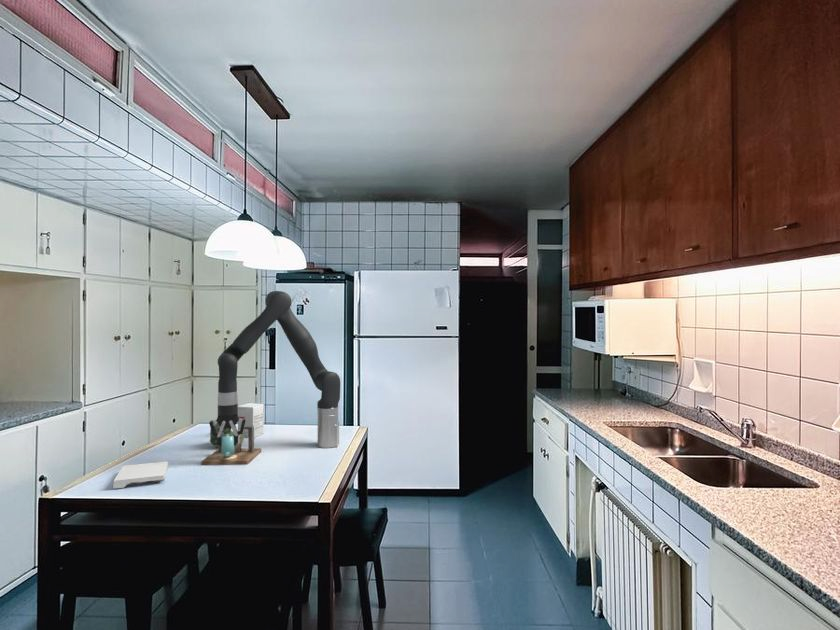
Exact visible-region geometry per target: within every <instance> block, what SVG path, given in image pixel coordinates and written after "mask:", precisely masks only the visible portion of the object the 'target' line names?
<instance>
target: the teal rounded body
mask: <svg viewBox="0 0 840 630" xmlns="http://www.w3.org/2000/svg"><path fill="white" fill-rule="evenodd" d="M234 436H235V435H234V434H226V435H222V436H221V454H222V455H226V456H230V454H234V453H235V445H234Z"/></svg>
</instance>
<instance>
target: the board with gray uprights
mask: <svg viewBox="0 0 840 630" xmlns="http://www.w3.org/2000/svg"><path fill="white" fill-rule="evenodd" d="M227 429H228V428H227ZM244 429H248V438H247V439H248V440H247V441H248V442H247V447H248V448H242V443H241V434H240V435H238V444H236V445H235V453H234V454H230V456H226V455H222V454H221V446H220V447H219V445H218V447H217V450H215V451H214V452H213V453H211V454H210V455H208V456H206V457H205V458H204V459H203V460H201V462H200V465H201V466H232V465H233V466H234V465H235V466H240V465H241V466H245V465H249V464H250V463H251V462H252V461H254V459H255V458H257V457H258V456H259V455H260V454H261V453H262V447H257V448H255V437H254V426H245V427H244ZM219 430H220V427H218V432H219ZM231 434H234V432H233V431H232V433H231ZM222 435H224V429H223V431H222V434H221V436H222ZM234 435H235V434H234Z"/></svg>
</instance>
